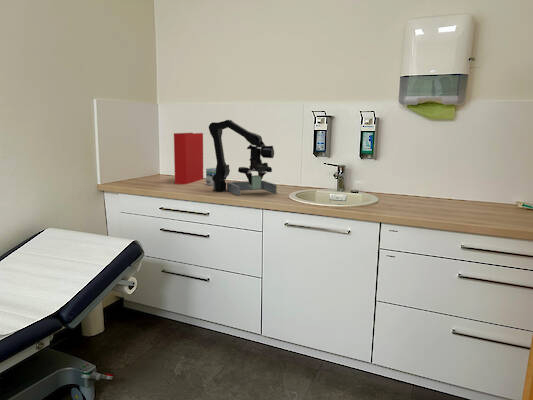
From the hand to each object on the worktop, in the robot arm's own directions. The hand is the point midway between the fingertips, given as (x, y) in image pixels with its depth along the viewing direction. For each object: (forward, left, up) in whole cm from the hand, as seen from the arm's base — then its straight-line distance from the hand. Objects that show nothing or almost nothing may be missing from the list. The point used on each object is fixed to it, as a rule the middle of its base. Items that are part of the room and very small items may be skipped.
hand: (254, 184), depth 223 cm
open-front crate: (0, +4, -5) cm, 6 cm away
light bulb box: (-11, +37, -5) cm, 39 cm away
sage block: (0, 0, -2) cm, 2 cm away
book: (-23, +56, -5) cm, 61 cm away
